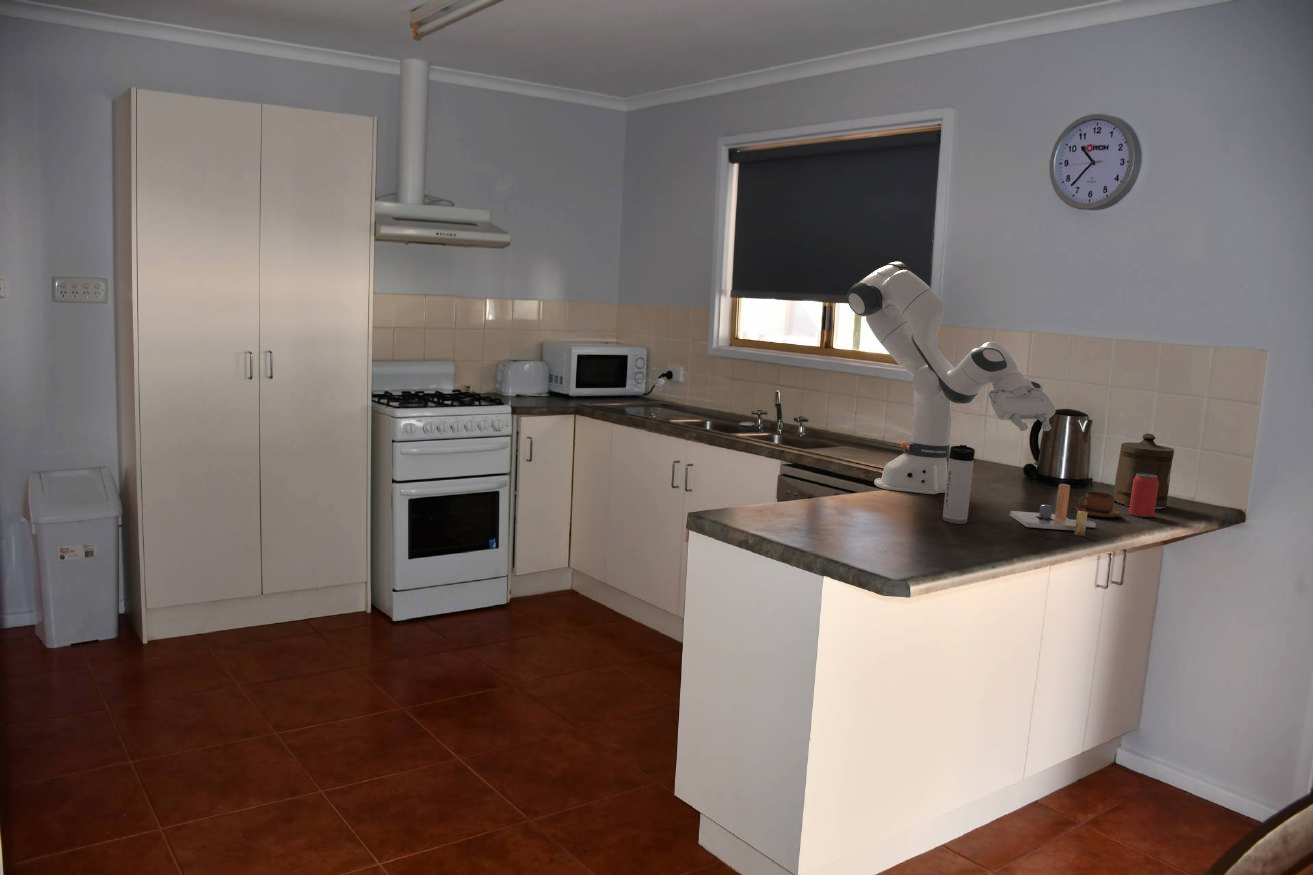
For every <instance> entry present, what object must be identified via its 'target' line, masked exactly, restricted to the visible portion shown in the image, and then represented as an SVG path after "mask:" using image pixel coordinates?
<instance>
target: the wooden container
mask: <svg viewBox="0 0 1313 875" xmlns="http://www.w3.org/2000/svg"><path fill="white" fill-rule="evenodd" d="M1142 439H1143V440H1141V441H1139V442H1130V441H1129V442H1122V443H1121V444H1120V451H1119V456H1118V461H1117V462H1118V463H1117V469H1116V473H1115V480H1114V489H1113V494H1112V495H1113V496H1114V500H1115V501H1117V502H1120V503H1122V504H1125V505H1130V501H1131V493H1132V486H1133V480H1134V478H1135V476H1136V474H1137V473H1146V474H1152V475H1156V476H1158V477H1157V479H1158V483H1159V485H1158V492H1157V499H1156V506H1155V508H1156V507H1165V506H1166V507H1167V502H1168V495H1169V490H1170V483H1171V482H1170V480H1171V472H1172V467H1173V466H1172V465H1173V460H1174V454H1175V449H1174V448H1172V447H1169V446H1165V445H1158V444H1157V443H1156V442H1155V441H1154V440H1156V436H1155V435H1154V434H1153V433H1144V434H1143V435H1142ZM1125 505H1124V506H1125Z"/></svg>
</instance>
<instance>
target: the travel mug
mask: <svg viewBox="0 0 1313 875" xmlns="http://www.w3.org/2000/svg"><path fill="white" fill-rule="evenodd" d="M975 453H976V450H975V449H974V448H973V447H971V446H967V445H966V444H959V445H953V446H952V445H951V446H950V453H949V460H948V463H947V481H946V491H945V492H944V501H943V511H942V513H943V514H942V520H943V521H944V522H945V523H950V524H954V525H957V524H959V525H965V524H967V522H968V517H969V508H970V500H971V499H970V498H971V490H972V489H971V488H972V484H973V482H972V480H973V472H974V465H975V464H974V463H975Z"/></svg>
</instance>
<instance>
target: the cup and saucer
mask: <svg viewBox="0 0 1313 875" xmlns="http://www.w3.org/2000/svg"><path fill="white" fill-rule="evenodd" d="M1083 500H1084V504H1082V501H1083ZM1075 509H1076V510H1077V511H1084V512H1087V513H1088V514H1087V516H1089V517H1094V518H1100V517H1101V518H1102V519H1105V518H1106V519H1109V518H1110V519H1111V518H1112V519H1113V518H1117V517H1119V516H1121V514H1122V511H1121V510H1119V509H1116V508H1114V496H1113V494H1109V493H1105V492H1100V491H1099V492H1097V491H1087V492H1085V496H1081V497H1080V498H1079V499H1078V504H1076V505H1075Z"/></svg>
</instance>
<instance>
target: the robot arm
mask: <svg viewBox="0 0 1313 875" xmlns="http://www.w3.org/2000/svg"><path fill="white" fill-rule="evenodd" d="M846 297H847V303H848V306H849V308H850V309H851V311H852V312H854V313H855V314H856V315H858V316H860V317H865V320H866V323H867V325H868V327H869V328H870V330H871V332H872V333H873V336H875V338H876V339H877V341H879V343H880V344H881V345H882V346H883V348H884V349H885V350H886V351H887V352H888V354H889V355H890V356H891V357H892V358H893V360H894V361H895V362H896V363H897V364H898V365H899V366H900V367H902V368H903V369H904V370H906V372H907V373H908V374H910V376H912V381H911V384H912V385H911V386H912V389H913V390H912V391H913V392H912V399H913V421H912V423H913V424H912V433H911V440H910V441H908V442H906V441H904V440H902V441H901V442H900V447H901V448H903V453H902V454H900V455H899V456H897V457H895V458H894V459H892V460H890V461H888V462H887V463H886V464H885V465H884V468H883V471H882V474H881V478H880V477H878V478H875V479H874V482H873V484H874V486H876V487H878V488H881V489H883V490H890V491H899V492H909V493H916V494H917V493H919V494H929V495H937V494H940V493H941V494H942V493H944V494H945V491H946V481H947V472H948V463H949V456H950V448H951V446H950V444H949V443H950V434H951V433H950V432H951V425H952V417H951V402H952V403H953V404H959V405H960V404H961V405H963V404H969V403H971V402H972V401H973V400H974V399H975V398H976V396H977V395H978V394H979V392H980V391H981V390H982V389H983V388H984V387H985V386H986V385H988V384H989V383H991V385H992V388H993V389H992V390H990V391H989V392H988V398H989V399H990V404H991V407H992V409H993V412H994V413H995V415H996V417H997V418H998V419H999V420H1002V421H1005V420H1006V421H1007V420H1008V421H1009V420H1010V421H1011V423H1012V424H1014V426H1016V427H1017V428H1018V429H1019V431H1020V432H1027V430H1028V429H1029V426H1028V424H1027V423H1026V422H1024V421H1023V420H1027V421H1030V420H1039V422H1041V423H1042V425H1041V429H1042V431H1044V432H1047V431H1048V432H1049V431H1050V430H1051V429H1052V426H1051V424H1050V418H1052V417H1053V416H1054V415H1055V414H1056V407H1055V405H1054V404H1053V402H1052V400H1051V399H1050V397H1049V396H1048V394H1047V393H1046V392H1044V391H1043V390H1044V387H1043V385H1042V384H1041V383H1039V382H1036V381H1034V380H1030V379H1029V378H1027V377H1024V375H1023V373H1022V372H1021V371H1020V370H1019V369H1018V367H1017V364H1016V361H1015V360H1014V358H1013V357H1012V355H1011V354H1010V352H1008V350H1007V349H1006V347H1004V346H1003V345H1002V344H1001V343H999V342H997V341H987V342H985V343H983V344H982V345H980V346H979V347H975V348H973V349H971V350H970V351H969V352H968V354H966V355H965V357H963V359H961V361H960V362H959V363H958V364H957V365H956V366H954V365H953V364H951V362H950V361H949V360H948V359H947V358H946V357H945V356H944V355H943V352H941V349H939V345H938V338H939V337H938V336H939V332H940V329H941V327H942V324H943V320H944V318H945V305H944V302H943V300H942V299H941V297H940V296H939V295H938V294H937V293H936V292H935V291H934V290H933V289H932V288H931V287H930V286H929V285H928V284H927V283H926V282H925V281H924V280H922V279H921V278H920V277H919V276H918V275H917V274H915V273H913V272H912V270H911V269H910V268H909V266H908V265H906V263H904V262H902V261H893V262H888V263H887V264H885V265H884V266H882V267H880V268H878V269H875V270H874V271H872V272H870V273H869V274H868V275H867V276H866V277H864V278H863V279H861V280H860V281H859V282H856V283H854V284H853V286H851V287H850V288H849V290H848V291H847V295H846Z"/></svg>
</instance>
